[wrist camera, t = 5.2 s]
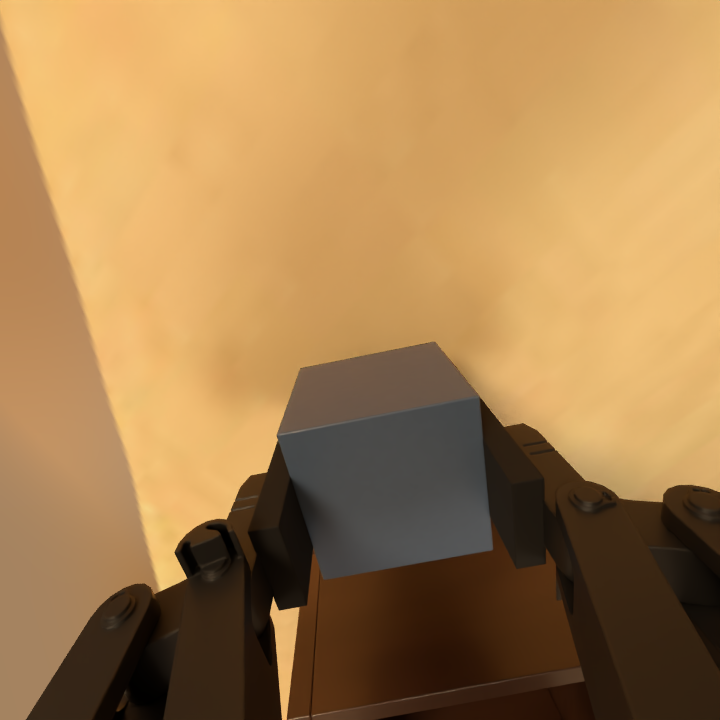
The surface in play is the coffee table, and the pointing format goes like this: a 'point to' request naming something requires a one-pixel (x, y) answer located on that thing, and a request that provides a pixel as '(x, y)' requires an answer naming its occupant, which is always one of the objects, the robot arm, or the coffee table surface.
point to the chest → (438, 644)
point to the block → (387, 461)
